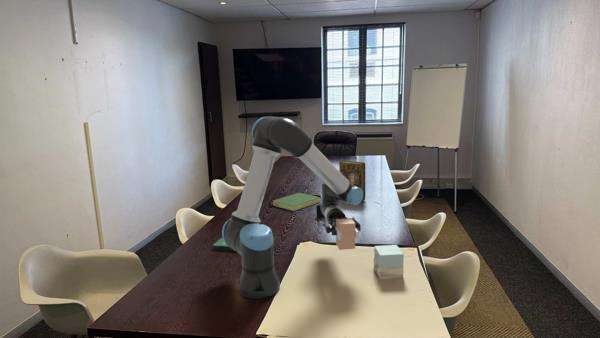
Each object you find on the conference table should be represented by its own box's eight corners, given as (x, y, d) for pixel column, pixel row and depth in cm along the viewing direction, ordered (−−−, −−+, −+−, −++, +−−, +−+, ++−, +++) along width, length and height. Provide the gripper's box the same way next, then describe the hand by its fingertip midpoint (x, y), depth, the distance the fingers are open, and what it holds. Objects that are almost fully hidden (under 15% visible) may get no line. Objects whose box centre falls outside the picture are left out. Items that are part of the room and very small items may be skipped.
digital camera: (323, 218, 224) (323, 206, 223) (316, 216, 228) (316, 205, 226) (335, 214, 231) (335, 202, 230) (328, 212, 235) (328, 201, 233)
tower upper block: (374, 257, 161) (374, 246, 160) (396, 256, 161) (396, 244, 160) (379, 267, 152) (380, 255, 151) (403, 266, 152) (403, 254, 151)
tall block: (335, 243, 156) (335, 219, 154) (351, 242, 156) (351, 218, 154) (339, 249, 150) (339, 224, 148) (355, 248, 151) (355, 223, 149)
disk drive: (250, 244, 192) (221, 242, 195) (249, 239, 192) (220, 236, 195) (242, 253, 182) (212, 250, 186) (242, 247, 182) (211, 245, 185)
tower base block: (373, 269, 161) (373, 257, 160) (395, 267, 162) (395, 256, 161) (380, 279, 153) (380, 267, 152) (403, 278, 154) (403, 265, 153)
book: (338, 199, 260) (338, 162, 255) (342, 197, 265) (341, 160, 260) (361, 203, 252) (361, 164, 247) (365, 200, 256) (365, 162, 251)
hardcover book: (299, 198, 269) (298, 192, 268) (320, 202, 256) (320, 197, 255) (271, 206, 251) (271, 200, 251) (292, 212, 239) (292, 206, 238)
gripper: (356, 223, 171) (373, 243, 149) (313, 226, 169) (323, 247, 146) (357, 206, 170) (374, 224, 147) (312, 209, 167) (323, 227, 145)
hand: (348, 235), depth 147 cm, fingers closed on tall block, 6 cm apart
